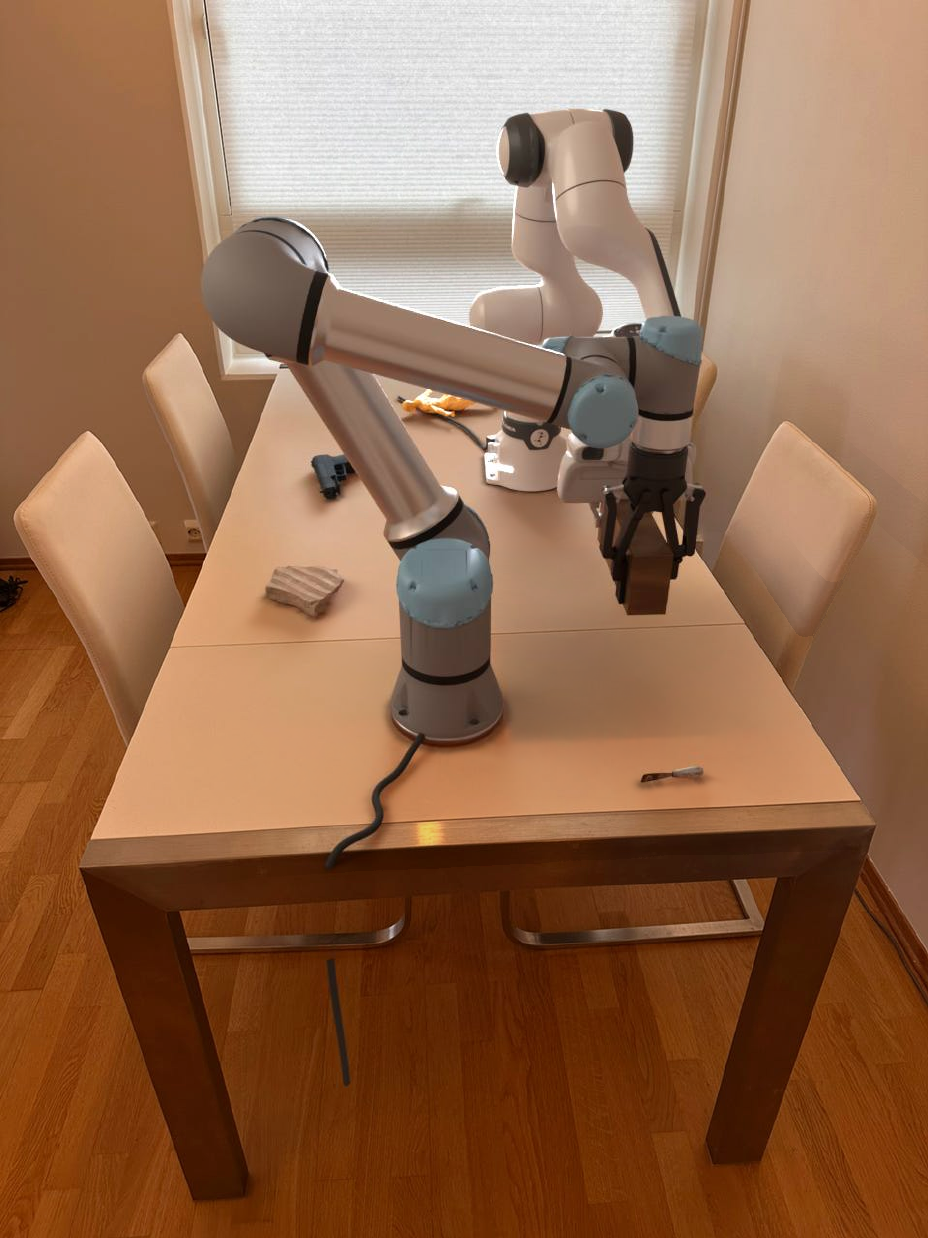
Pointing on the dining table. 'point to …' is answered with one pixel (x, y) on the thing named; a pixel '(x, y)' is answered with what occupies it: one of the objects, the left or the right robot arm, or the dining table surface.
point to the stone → (304, 587)
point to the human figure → (436, 404)
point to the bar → (644, 565)
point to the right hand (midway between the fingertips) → (620, 525)
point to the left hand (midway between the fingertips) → (641, 598)
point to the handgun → (331, 473)
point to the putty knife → (674, 774)
